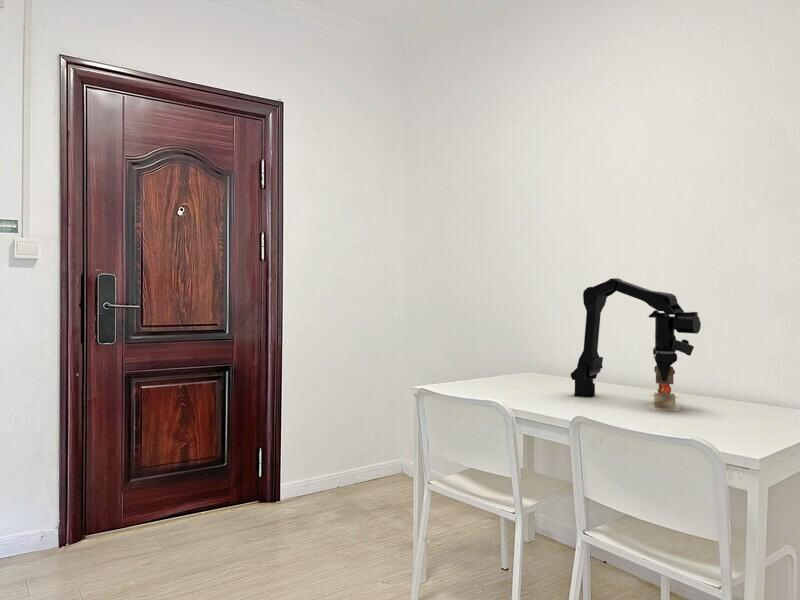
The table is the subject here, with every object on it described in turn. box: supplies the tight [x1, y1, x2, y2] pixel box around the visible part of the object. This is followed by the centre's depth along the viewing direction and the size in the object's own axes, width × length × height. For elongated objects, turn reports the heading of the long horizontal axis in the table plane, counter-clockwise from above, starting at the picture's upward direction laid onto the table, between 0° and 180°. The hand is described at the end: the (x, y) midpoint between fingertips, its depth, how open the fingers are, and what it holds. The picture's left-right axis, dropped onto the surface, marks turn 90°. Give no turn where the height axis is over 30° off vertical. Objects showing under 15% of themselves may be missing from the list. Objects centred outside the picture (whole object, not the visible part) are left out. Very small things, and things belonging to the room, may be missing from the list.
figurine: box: [653, 364, 676, 394], centre depth 217 cm, size 6×6×12 cm
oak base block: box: [653, 392, 676, 410], centre depth 197 cm, size 6×6×4 cm
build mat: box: [648, 403, 682, 412], centre depth 200 cm, size 22×15×1 cm
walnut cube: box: [655, 365, 675, 385], centre depth 197 cm, size 5×5×5 cm
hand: (664, 379), depth 197 cm, fingers closed on walnut cube, 5 cm apart
